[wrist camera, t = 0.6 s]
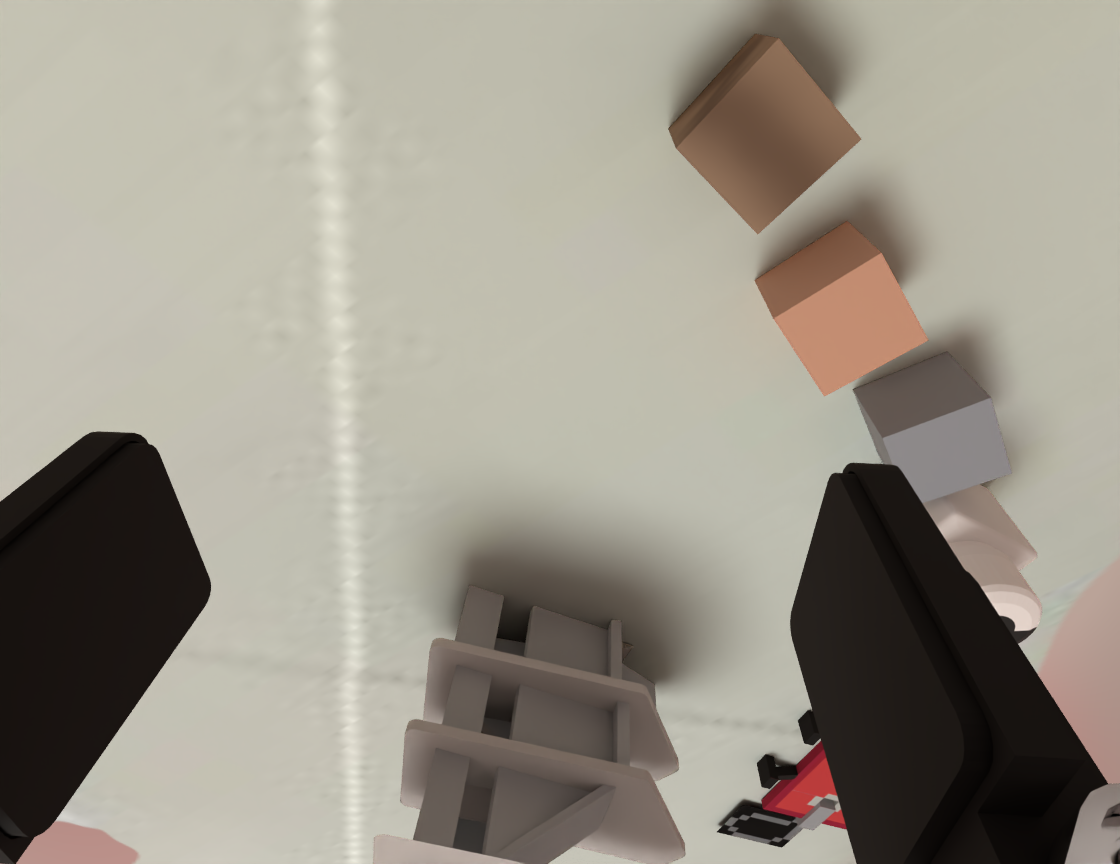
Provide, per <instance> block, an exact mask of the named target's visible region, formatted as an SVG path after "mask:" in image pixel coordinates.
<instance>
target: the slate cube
mask: <svg viewBox="0 0 1120 864" xmlns="http://www.w3.org/2000/svg"><path fill="white" fill-rule="evenodd" d="M853 391H854V394H855V397H856V399H857V402H858V404H859V407H860V409H861V412H862V414H863V417H864V419H865V422H866V424H867V427H868V429H869V432H870V434H871V437H872V440H873V442H874V445H875V447H876V450H877V452H878V455H879V456H880V458H881V460H882V461H883V463H884V464H891V465H896V466H898V467H899V468H900V469H901V471H902V472H903V474H904V475H905V477H906V478H907V480H908V482H909V483H910V485H911V486H912V488H913V489H914V491H915V492H916V494H917V496H918V497H919V499H920V500H921V502H922V503H925V502H928V501H931V500H934V499H937V498H940V497H943V496H946V495H949V494H952V493H955V492H958V491H961V490H964V489H967V488H970V487H973V486H976V485H979V484H982V483H985V482H988V481H991V480H994V479H997V478H1000V477H1003V476H1006V475H1009V474H1012V472H1011V468H1010V464H1009V461H1008V457H1007V453H1006V450H1005V446H1004V443H1003V439H1002V435H1001V432H1000V428H999V424H998V421H997V417H996V414H995V410H994V406H993V403H992V399H991V397H990V396H989V395H988V394H987V393H986V392H985V391H984V390H983V389H982V388H981V387H980V385H979V384H978V383H977V382H976V381H975V380H974V379H973V378H972V377H971V376H970V375H969V374H968V373H967V372H966V371H965V370H964V369H963V368H962V367H961V366H960V365H959V363H958V362H957V361H956V360H955V359H954V358H953V357H952V356H951V355H950V354H949V353H948V352H945V353H942V354H940V355H937V356H935V357H932V358H930V359H927V360H925V361H922V362H920V363H917V364H915V365H912V366H910V367H908V368H905V369H903V370H900V371H898V372H895V373H893V374H890V375H888V376H885V377H883V378H880V379H878V380H875V381H873V382H870V383H868V384H865V385H863V386H861V387H858V388H856V389H853Z"/></svg>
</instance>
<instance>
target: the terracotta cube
mask: <svg viewBox="0 0 1120 864" xmlns="http://www.w3.org/2000/svg"><path fill="white" fill-rule="evenodd" d="M755 282H756V284H757V286H758V288H759V290H760V292H761V294H762V296H763V298H764V300H765V302H766V304H767V307H768V309H769V311H770V313H771V315H772V317H773V319H774V320H775V322H776V323H777V325H778V326H779V328H780V329H781V331H782V332H783V334H784V335H785V337H786V338H787V340H788V342H789V343H790V345H791V346H792V348H793V349H794V351H795V352H796V354H797V355H798V357H799V358H800V360H801V361H802V363H803V364H804V366H805V368H806V369H807V371H808V372H809V374H810V375H811V377H812V378H813V380H814V381H815V383H816V384H817V386H818V387H819V389H820V390H821V392H822V394H823V395H824V396H826V395H828V394H830V393H832V392H833V391H835V390H837V389H839V388H841V387H843V386H845V385H846V384H848V383H850V382H852V381H854V380H856V379H858V378H859V377H861V376H863V375H865V374H867V373H869V372H871V371H872V370H874V369H876V368H878V367H880V366H882V365H884V364H885V363H887V362H889V361H891V360H893V359H895V358H897V357H898V356H900V355H902V354H904V353H906V352H908V351H909V350H911V349H913V348H915V347H917V346H919V345H921V344H922V343H924V342H926V341H928V338H927V336H926V334H925V333H924V331H923V329H922V327H921V325H920V323H919V321H918V320H917V318H916V316H915V314H914V312H913V310H912V308H911V307H910V305H909V303H908V301H907V299H906V297H905V295H904V294H903V292H902V290H901V288H900V286H899V284H898V282H897V281H896V279H895V277H894V275H893V273H892V271H891V269H890V268H889V266H888V264H887V262H886V260H885V258H884V256H883V255H882V253H881V252H880V251H879V250H878V249H877V248H876V247H875V246H874V245H873V244H872V243H870V242H869V241H868V240H867V239H866V238H865V237H864V236H863V235H862V234H861V233H860V232H859V231H858V230H856V229H855V228H854V227H853V226H852V225H851V224H850V223H849V222H848V221H846V222H845V223H843V224H841V225H840V226H838V227H837V228H835V229H834V230H832V231H831V232H829V233H827V234H826V235H824V236H823V237H821V238H820V239H818V240H817V241H815V242H813V243H812V244H810V245H809V246H807V247H806V248H804V249H803V250H801V251H799V252H798V253H796V254H795V255H793V256H792V257H790V258H789V259H787V260H785V261H784V262H782V263H781V264H779V265H778V266H776V267H775V268H773V269H771V270H770V271H768V272H767V273H765V274H764V275H762V276H761V277H759V278H757V279H756V280H755Z"/></svg>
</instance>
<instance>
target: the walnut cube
mask: <svg viewBox="0 0 1120 864" xmlns="http://www.w3.org/2000/svg"><path fill="white" fill-rule="evenodd" d="M669 132H670V134H671V137H672V139H673V142H674V144H675V147H676V149H677V150H678V151H679V152H680V153H681V154H682V155H683V156H684V157H685V158H686V159H687V160H688V161H689V162H690V164H691V165H692V166H693V167H694V168H695V169H696V170H697V171H698V172H699V173H700V174H701V175H702V176H703V177H704V178H705V179H706V180H707V181H708V182H709V184H710V185H711V186H712V187H713V188H714V189H715V190H716V191H717V192H718V193H719V194H720V195H721V196H722V197H723V198H724V199H725V200H726V201H727V202H728V204H729V205H730V206H731V207H732V208H733V209H734V210H735V211H736V212H737V213H738V214H739V215H740V216H741V217H742V218H743V219H744V220H745V221H746V223H747V224H748V225H749V226H750V227H751V228H752V229H753V230H754V231H755V232H756V233H757V234H759V233H760V232H761V231H762V230H763V229H764V228H765V227H766V226H767V225H769V224H770V223H771V222H772V221H773V220H774V219H775V218H776V217H777V216H778V215H779V214H781V213H782V212H783V211H784V210H785V209H786V208H787V207H788V206H789V205H790V204H791V203H793V202H794V201H795V200H796V199H797V198H798V197H799V196H800V195H801V194H802V193H803V192H804V191H806V190H807V189H808V188H809V187H810V186H811V185H812V184H813V183H814V182H815V181H816V180H818V179H819V178H820V177H821V176H822V175H823V174H824V173H825V172H826V171H827V170H828V169H830V168H831V167H832V166H833V165H834V164H835V163H836V162H837V161H838V160H839V159H840V158H841V157H843V156H844V155H845V154H846V153H847V152H848V151H849V150H850V149H851V148H852V147H853V146H855V145H856V144H857V143H858V142H859V141H860V140H861V138H860V137H859V135H858V134H857V133H856V132H855V131H854V129H853V128H852V127H851V126H850V124H849V123H848V122H847V121H846V120H845V118H844V117H843V116H842V115H841V113H840V112H839V111H838V110H837V109H836V107H835V106H834V105H833V104H832V102H831V101H830V100H829V99H828V98H827V96H826V95H825V94H824V93H823V92H822V90H821V89H820V88H819V87H818V85H817V84H816V83H815V82H814V81H813V79H812V78H811V77H810V76H809V74H808V73H807V72H806V71H805V70H804V68H803V67H802V66H801V65H800V63H799V62H798V61H797V60H796V59H795V57H794V56H793V55H792V54H791V52H790V51H789V50H788V49H787V48H786V46H785V45H784V44H783V43H782V41H781V40H780V39H779V38H775V37H770V36H764V35H759V34H754V36H753V37H752V38H751V39H750V40H749V41H748V42H747V43H746V44H745V45H744V47H743V48H742V49H741V50H740V51H739V52H738V53H737V54H736V55H735V56H734V57H733V59H732V60H731V61H730V62H729V63H728V64H727V65H726V66H725V67H724V68H723V70H722V71H721V72H720V73H719V74H718V75H717V76H716V77H715V78H714V79H713V81H712V82H711V83H710V84H709V85H708V86H707V87H706V88H705V89H704V90H703V92H702V93H701V94H700V95H699V96H698V97H697V98H696V99H695V100H694V101H693V102H692V104H691V105H690V106H689V107H688V108H687V109H686V110H685V111H684V112H683V113H682V115H681V116H680V117H679V118H678V119H677V120H676V121H675V122H674V123H673V124H672V126H671V127H670V128H669Z"/></svg>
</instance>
